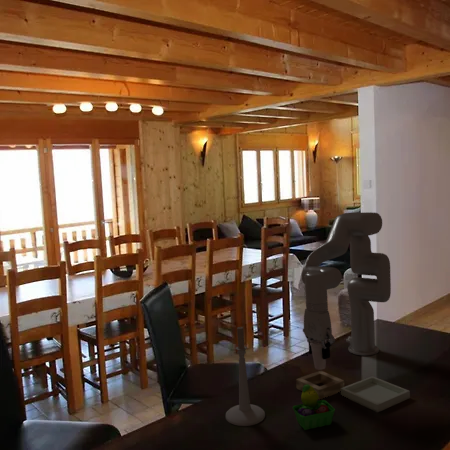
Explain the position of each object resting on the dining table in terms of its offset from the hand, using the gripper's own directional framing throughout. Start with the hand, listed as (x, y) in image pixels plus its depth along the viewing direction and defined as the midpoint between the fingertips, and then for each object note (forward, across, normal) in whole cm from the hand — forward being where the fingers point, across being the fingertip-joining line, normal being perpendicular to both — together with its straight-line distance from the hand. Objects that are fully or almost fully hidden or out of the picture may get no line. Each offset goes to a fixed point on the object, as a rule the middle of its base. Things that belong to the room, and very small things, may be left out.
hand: (319, 355), depth 176 cm
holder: (+12, 0, -1) cm, 13 cm away
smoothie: (+5, 0, 0) cm, 5 cm away
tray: (+13, +16, +9) cm, 23 cm away
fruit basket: (+12, +16, -19) cm, 28 cm away
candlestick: (+12, -1, -33) cm, 35 cm away
